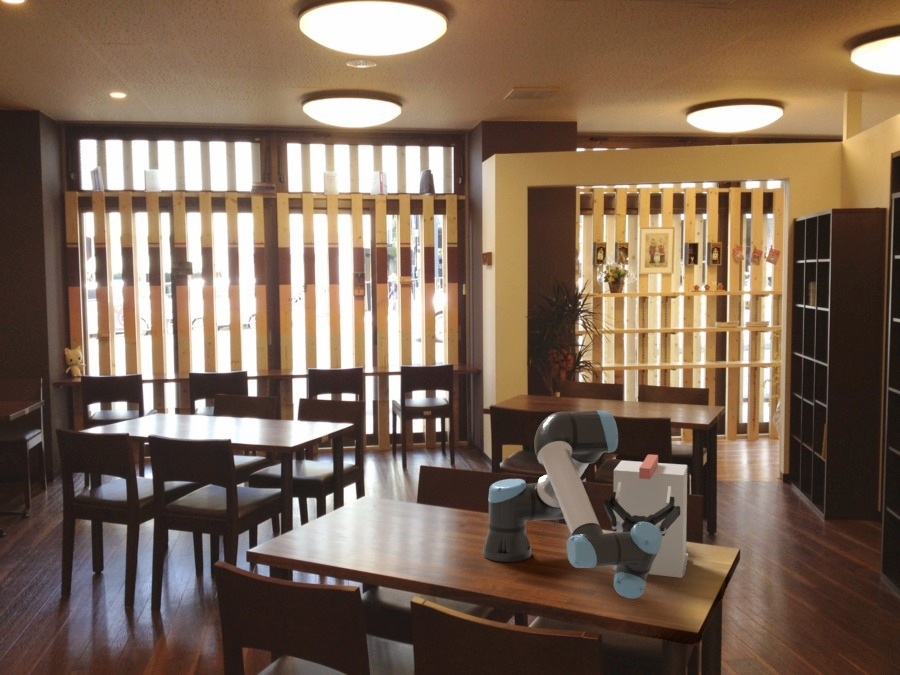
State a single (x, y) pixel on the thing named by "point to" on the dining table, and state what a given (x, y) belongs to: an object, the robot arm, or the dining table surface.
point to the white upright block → (657, 509)
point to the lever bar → (648, 467)
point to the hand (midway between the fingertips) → (644, 487)
